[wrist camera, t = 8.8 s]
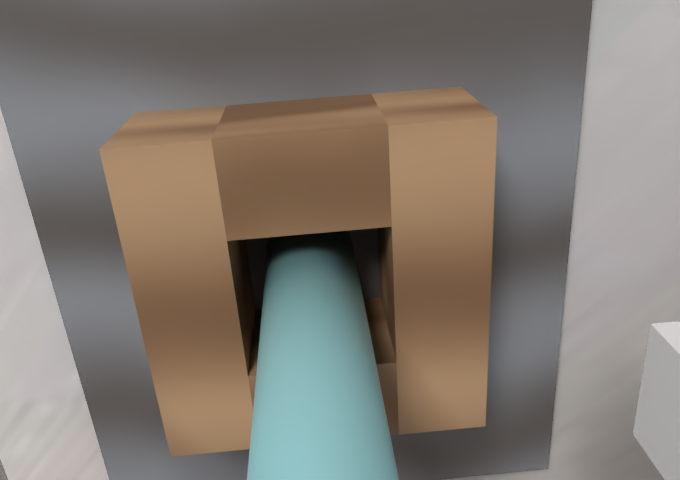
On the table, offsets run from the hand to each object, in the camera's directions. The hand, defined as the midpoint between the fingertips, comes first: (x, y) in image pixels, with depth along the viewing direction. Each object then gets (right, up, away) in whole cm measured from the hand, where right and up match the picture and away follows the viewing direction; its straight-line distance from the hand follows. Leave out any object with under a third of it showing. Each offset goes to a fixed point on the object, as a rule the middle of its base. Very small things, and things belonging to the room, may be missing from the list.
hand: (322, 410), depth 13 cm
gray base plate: (0, +3, +7) cm, 8 cm away
